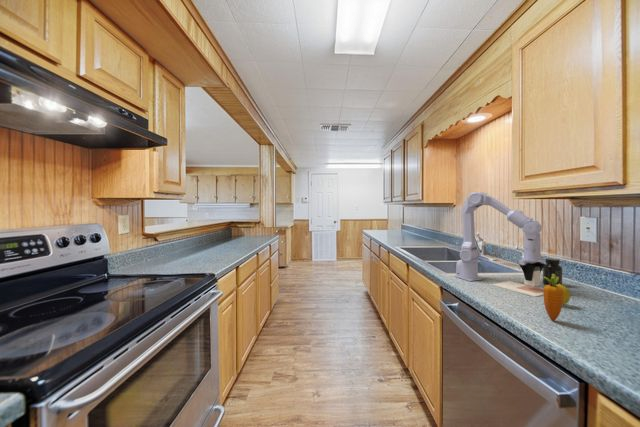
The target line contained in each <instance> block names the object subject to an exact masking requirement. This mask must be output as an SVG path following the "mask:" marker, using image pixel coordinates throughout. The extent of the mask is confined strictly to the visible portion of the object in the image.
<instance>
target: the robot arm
mask: <svg viewBox="0 0 640 427" xmlns="http://www.w3.org/2000/svg"><path fill="white" fill-rule="evenodd" d="M482 206H490V207H491V208H493V209H495V210H497V211H498V212H499V213H502V214H503V215H505V216H506V219H507V221H509V222H510V223H511V224H513V225H515V226H516V227H518V228H519V229H522V232H523V234H524V235H523V236H524V237H523V257H522V258H521V259H519V260H518V265H519V268H521V270H522V273H523V277H524V276H525V280H528V281H532V277H533V272H534V269H535V267H536V266H539V267H540V274H541V273H542V272H543V267H544V266H545V264H546V258H545V257H542V254H541V251H542V250H541V248H542V246H541V245H542V244H541V243H542V239H541V232H542V229H543V226H542V224H541V223H540V222H539V221H537V220H534V218H532V217H530V216H528V215H526V214H524V212H523V211H522V210H518V209H511V208H510V207H508V206H506V205H505V204H503V202H501V201H499V200H498V199H496V198H495V197H493V196H492V195H490V194H487V193H486V192H478V191H474V192H471V193H470V194H468V195H467V196H466V200H465V201H464V203H463V205H462V206H461V218H462V220H461V221H462V234H463V235H462V240H463V241H462V244H461V248H460V249H461V250H460V252H459V257H460V259H459V260H457V261H456V265H455V266H456V268H455V275H454V277H455V278H459V279H462V280H466V281H469V282H474V281H480V280H483V278H481V277H478V276H479V271H478V270H479V268H478V266H479V265H478V264H479V261H478V259H479V257H480V255H481V254H480V251H479V249H478V245H477V242H476V229H475V211H477V209H478V208H480V207H482Z"/></svg>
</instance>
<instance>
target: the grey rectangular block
mask: <svg viewBox="0 0 640 427" xmlns="http://www.w3.org/2000/svg"><path fill="white" fill-rule="evenodd" d="M523 284H524V285H528V286H532V287H537V286H538V287H539V286H541V273H540V267H539V266H536V267H535V269H534V272H533V277H532V281H528V280H525V276H524V275H523Z"/></svg>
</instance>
